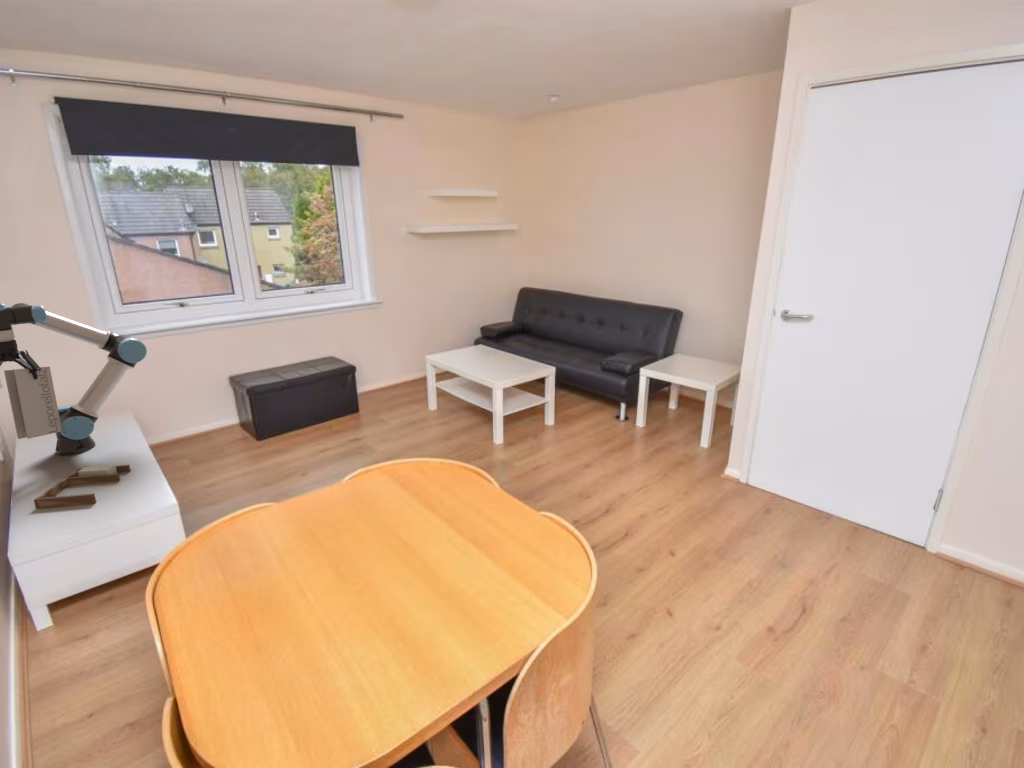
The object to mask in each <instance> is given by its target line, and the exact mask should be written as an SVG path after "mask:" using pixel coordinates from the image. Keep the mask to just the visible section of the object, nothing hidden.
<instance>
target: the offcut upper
mask: <svg viewBox="0 0 1024 768" xmlns="http://www.w3.org/2000/svg"><path fill="white" fill-rule="evenodd" d="M116 466H117V464H104V465H103V464H101V465H86V466H85V467H82V468H83V469H82V468H80V469H81V470H80V471H78V474H79V477H80V476H93V475H105V474H113V473H114V472H116V471H117V469H116Z"/></svg>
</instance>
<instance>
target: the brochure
mask: <svg viewBox="0 0 1024 768" xmlns="http://www.w3.org/2000/svg"><path fill="white" fill-rule="evenodd" d="M39 367H40V368H41V370H38V371H37V376H38V379H36V380H34V378H33V375H32V373H30V371H29V369H25V368H18V369H7V370H3V373H4V377H5V382H6V388H7V393H8V398H9V402H10V407H11V408H10V409H11V411H12V416H13V423H14V427H15V431H16V432H15V433H16V438H17V440H20V439H25V438H27V440H28V439H33V438H39V437H42V436H48V435H52V434H56V432H61V431H62V428H61V423H60V417H59V412H58V407H59V406H58V403H57V397H56V393H55V387H54V382H53V377H52V376H53V375H52V372H51V367H50V366H39ZM32 370H33V369H32Z"/></svg>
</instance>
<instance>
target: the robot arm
mask: <svg viewBox="0 0 1024 768" xmlns="http://www.w3.org/2000/svg"><path fill="white" fill-rule="evenodd" d="M26 324H31V325H34V326H36V327H40V328H44V329H46V330H49V331H52V332H56V333H57V334H61V335H64V336H68V337H71V338H73V339H76V340H79V341H82V342H85V343H89V344H92V345H93V346H97V347H98V349H100V350H103V351H105V352H108V353H109V354H108V355H107V357H106V358H107V363H106V364H105V365H104V366H103V368H102V369H101V371H100V372H99V374H98V375H97V376H96V378H95V379H93V382H92V383H91V384H90V386H89V387H88V388H87V390H86V391H85V393H84V394H83V396H82V397H81V398H80V400H79V401H78V403H76V404H70V405H69V404H68V405H63V406H57V407H58V412H59V417H60V423H61V428H62V431H61V432H56V433H55V436H56V444H55V445H56V446H55V454H56V455H57V456H61V457H68V456H76V455H79V454H83V453H86V452H88V451H91V450H92V449H93V448H94V449H95V447H96V441H95V439H93V438H92V436H91V434H92V433H93V432H94V430H95V423H97V421H98V419H99V418H100V417H99V411H100V410H101V408H102V407H104V404H105V403H106V401H107V400H108V399H109V397H110V396H111V395H112V393H113V392H114V390H115V388H116V387H118V384H119V383H120V382H121V381H122V379H123V377H124V375H126V373H127V372H128V371H130V370H132V369H134V368H135V366H136V365H137V363H139V362H142V361H143V360H144V359H145V358H146V356H147V353H148V351H147V347H146V345H145V343H144V342H142V341H141V340H140V339H138V338H135V337H132V336H129V335H124V334H121V333H120V334H119V333H116V332H112V331H109V330H106V331H104V330H101V329H98V328H94V327H92V326H89V325H87V324H83V323H81V322H78V321H75V320H72V319H69V318H66V317H63V316H60V315H58V314H55V313H52V312H49V311H47V310H46V309H45V307H44V306H43V305H41V304H33V305H29V304H28V303H23V302H18V303H15V304H13V305H11V306H10V307H9V306H7V305H6V304H5V303H1V302H0V367H2V365H3V363H6V362H10V363H11V362H14V363H16V364H18V365H19V366H21V367H22V369H29V371H30V373H32V375H33V378H34V380H36V379H38V376H37V371H38V370H41V368H40V367H41V366H40V365H39V364H38V363H37V362H36V361H35V360H34V359H33V357H32V356H31V355H30V354H29V351H28V350H27V349H23V350H18V343H17V340H16V339H15V338H16V336H15V333H14V330H13V326H16V325H17V326H18V325H26ZM32 369H33V370H32ZM1 389H4V386H3V383H2V380H1V378H0V390H1Z"/></svg>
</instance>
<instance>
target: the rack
mask: <svg viewBox="0 0 1024 768" xmlns="http://www.w3.org/2000/svg"><path fill="white" fill-rule="evenodd" d="M83 468H84V467H82V468H78V469H75V470H74V471H73V472H72V473H70V474H69V475H68V476H65V478H63V479H61V480H60V481H59V482H57V483H56V484H55V485H53V486H52V487H50V488H49V489H47V490H45V491H44V492H43V493H41V494H40V495H38V497H36V498H34V499H33V503H34V506H35V509H36V510H40V509H50V508H51V509H52V508H60V507H71V506H72V507H74V506H83V505H84V506H85V505H93V504H94V505H95V504H96V503H97V499H96V496H95V493H85V494H83V493H82V494H81V493H80V494H72V495H61V496H58V495H59V494H60V493H61V492H62V491H64V490H65V489H66V488H67V487H68V486H79V485H80V484H82V485H92V484H93V483H94V484H104V483H117V482H121V477H120V476H121V475H120V473H130V472H131V471H132V470H131V465H130V464H123V465H116V469H117V474H105V475H93V476H80V477H79V474H78V471H80V470H81V469H83ZM57 494H58V495H57Z"/></svg>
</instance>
